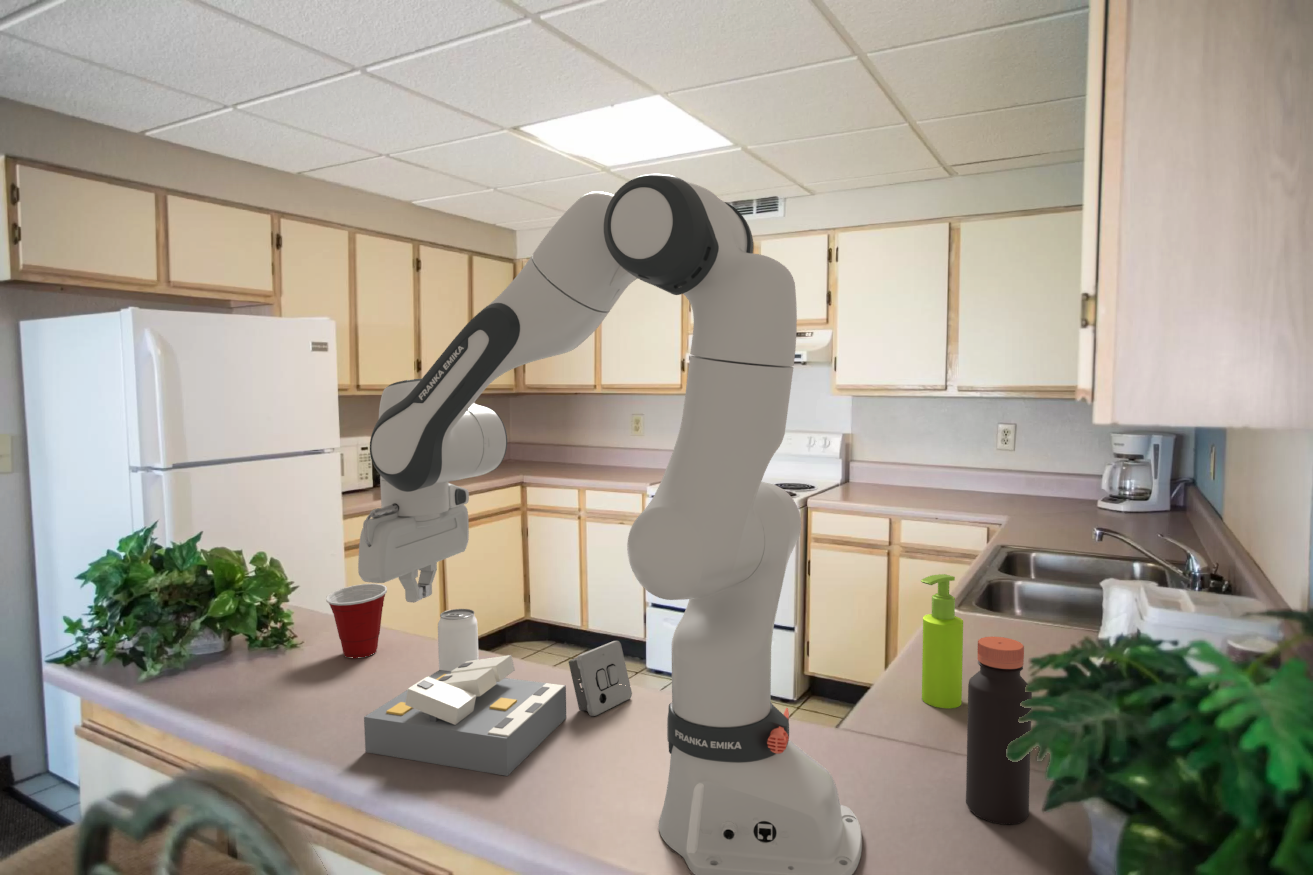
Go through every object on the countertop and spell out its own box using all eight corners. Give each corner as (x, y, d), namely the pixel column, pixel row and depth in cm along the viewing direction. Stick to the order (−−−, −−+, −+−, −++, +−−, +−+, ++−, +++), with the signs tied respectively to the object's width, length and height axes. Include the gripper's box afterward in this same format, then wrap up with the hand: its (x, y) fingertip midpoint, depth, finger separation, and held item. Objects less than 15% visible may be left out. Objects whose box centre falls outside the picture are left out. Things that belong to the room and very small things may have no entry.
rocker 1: (473, 710, 108) (476, 694, 107) (455, 724, 103) (458, 707, 103) (424, 691, 110) (427, 675, 109) (405, 704, 106) (408, 687, 105)
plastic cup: (316, 656, 144) (313, 592, 144) (368, 639, 153) (366, 580, 152) (349, 668, 138) (346, 602, 137) (401, 651, 146) (399, 588, 146)
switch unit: (566, 717, 117) (565, 680, 116) (507, 775, 100) (506, 733, 99) (440, 700, 124) (439, 665, 123) (365, 751, 107) (363, 711, 106)
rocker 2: (496, 683, 112) (492, 666, 112) (480, 696, 108) (476, 678, 108) (450, 689, 115) (446, 673, 115) (432, 701, 111) (428, 684, 111)
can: (470, 691, 127) (467, 620, 126) (432, 689, 128) (430, 618, 127) (484, 676, 133) (483, 608, 132) (449, 674, 134) (447, 607, 134)
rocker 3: (514, 670, 118) (511, 653, 118) (500, 681, 113) (496, 664, 113) (470, 676, 120) (466, 660, 120) (454, 687, 116) (450, 670, 116)
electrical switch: (593, 719, 116) (587, 657, 116) (568, 713, 120) (563, 653, 120) (633, 698, 124) (628, 641, 124) (609, 693, 127) (604, 637, 127)
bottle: (959, 814, 90) (963, 646, 88) (972, 788, 96) (975, 630, 94) (1023, 832, 86) (1028, 657, 85) (1033, 804, 92) (1037, 639, 90)
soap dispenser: (908, 698, 122) (910, 574, 121) (940, 690, 125) (942, 568, 124) (937, 712, 117) (940, 583, 116) (969, 703, 120) (972, 577, 119)
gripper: (385, 512, 94) (390, 623, 95) (475, 489, 114) (478, 581, 115) (343, 510, 96) (347, 619, 97) (438, 487, 116) (441, 578, 117)
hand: (419, 598), depth 106 cm, fingers closed
